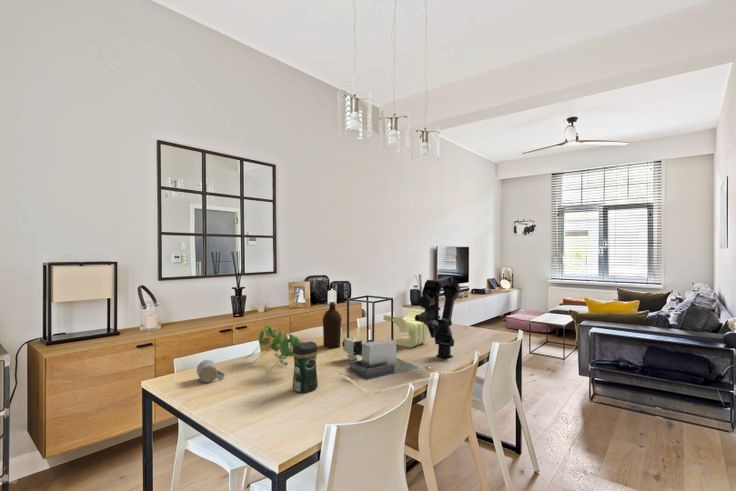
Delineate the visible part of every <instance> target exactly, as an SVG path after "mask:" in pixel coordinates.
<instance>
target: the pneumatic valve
mask: <svg viewBox="0 0 736 491" xmlns="http://www.w3.org/2000/svg"><path fill="white" fill-rule="evenodd" d="M362 343H363V340H360V339H358V338H355V337H345V338H343V341H342V344H341V345H342V347H343V352H345V353H348V354H347V359H348V360H349V361H350V362H355V361H358V355H362Z"/></svg>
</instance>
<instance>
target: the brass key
mask: <svg viewBox="0 0 736 491" xmlns="http://www.w3.org/2000/svg"><path fill="white" fill-rule="evenodd" d="M424 368H425V369H427V370H428V371H430V373H434V372H433V371H435V370H434V369H433V368H432V366H430V365H428V366H427V365H425V367H424Z"/></svg>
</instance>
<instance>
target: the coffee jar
mask: <svg viewBox="0 0 736 491" xmlns="http://www.w3.org/2000/svg"><path fill="white" fill-rule="evenodd" d="M292 348H293V350H292V351H293V356H292V357H293V359H294V360H293V362H294V366H293V377H292V390H293V391H294V392H295V393H302V394H304V393H308V392H311V391H314V390H316V389H317V388H318V373H317V355H318V345H317V343H316V342H314V341H311V340H310V341H305V342H304V343H300V344H295V345H294V346H293V347H292Z"/></svg>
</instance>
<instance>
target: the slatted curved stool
mask: <svg viewBox="0 0 736 491" xmlns="http://www.w3.org/2000/svg"><path fill="white" fill-rule="evenodd" d="M423 312H425V309H418V308H417V309H416V308H412V309H411V310H410V311H409V312H408V314H406V315H405V316H404V317H396V316H392V317H393V319H392V321H393V324H395V325H396V326H397V327H398V329H399V332H400V333H404V334H405V333H408V335H409V336H401V337H398V338H395V339H393V340H394V341H396V345H397V346H398V345H399V346H404V347H406V348H413V347H415V346H419V345H421V344H424V343H426V341H427V335H428V334H427V333H428V327H427V326H426V325H425V324H424V322H420V321H415V316H416V315H419V314H421V313H423ZM383 321H386V322H390V323H392V322H391V315H386V314H384V315H383Z"/></svg>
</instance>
